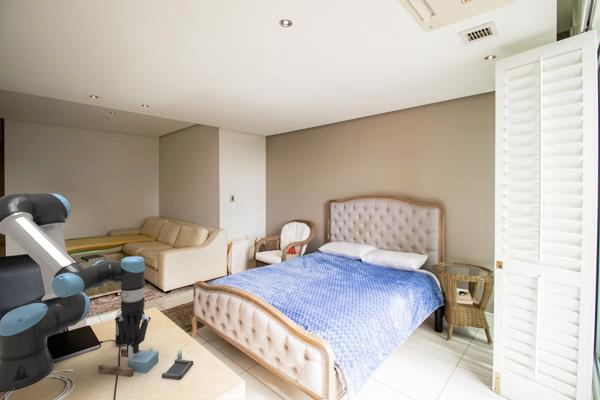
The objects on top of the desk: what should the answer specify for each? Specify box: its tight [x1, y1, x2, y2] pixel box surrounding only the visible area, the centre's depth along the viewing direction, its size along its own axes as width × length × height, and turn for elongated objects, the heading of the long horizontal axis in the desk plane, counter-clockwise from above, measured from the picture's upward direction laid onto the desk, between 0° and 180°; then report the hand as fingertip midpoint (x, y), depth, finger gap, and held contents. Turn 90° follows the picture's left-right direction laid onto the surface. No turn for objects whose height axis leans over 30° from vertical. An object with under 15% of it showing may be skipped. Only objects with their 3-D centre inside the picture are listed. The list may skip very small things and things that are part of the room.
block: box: [128, 349, 160, 374], centre depth 104 cm, size 7×7×4 cm
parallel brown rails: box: [97, 347, 142, 378], centre depth 104 cm, size 13×12×2 cm
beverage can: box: [114, 313, 127, 347], centre depth 118 cm, size 6×6×12 cm
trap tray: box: [161, 358, 194, 381], centre depth 102 cm, size 7×9×1 cm
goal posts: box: [148, 346, 183, 360], centre depth 110 cm, size 14×2×3 cm, turn 83°
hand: (132, 361), depth 104 cm, fingers closed
